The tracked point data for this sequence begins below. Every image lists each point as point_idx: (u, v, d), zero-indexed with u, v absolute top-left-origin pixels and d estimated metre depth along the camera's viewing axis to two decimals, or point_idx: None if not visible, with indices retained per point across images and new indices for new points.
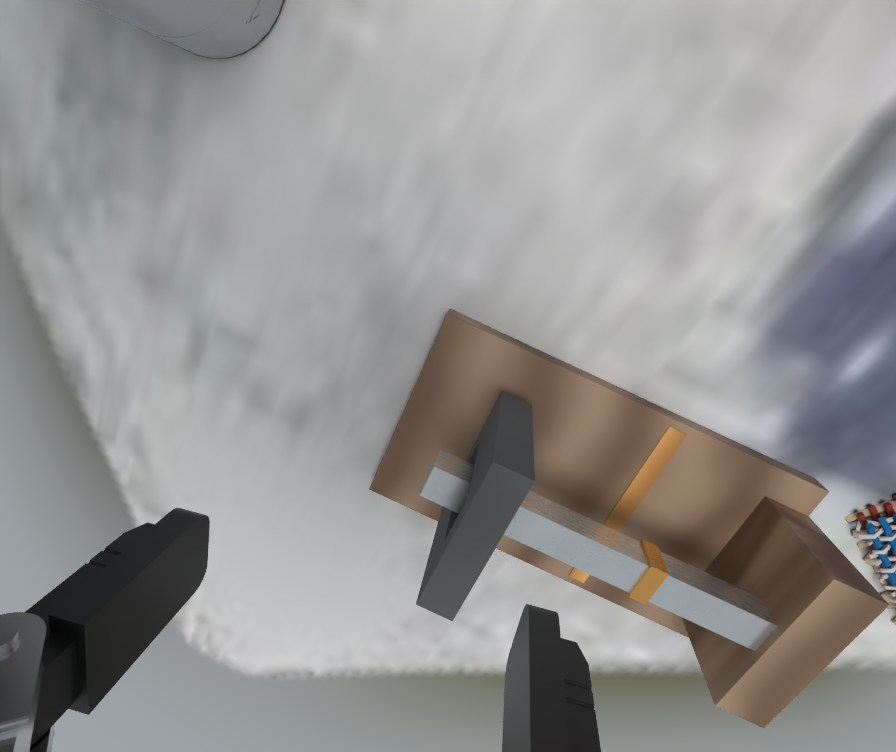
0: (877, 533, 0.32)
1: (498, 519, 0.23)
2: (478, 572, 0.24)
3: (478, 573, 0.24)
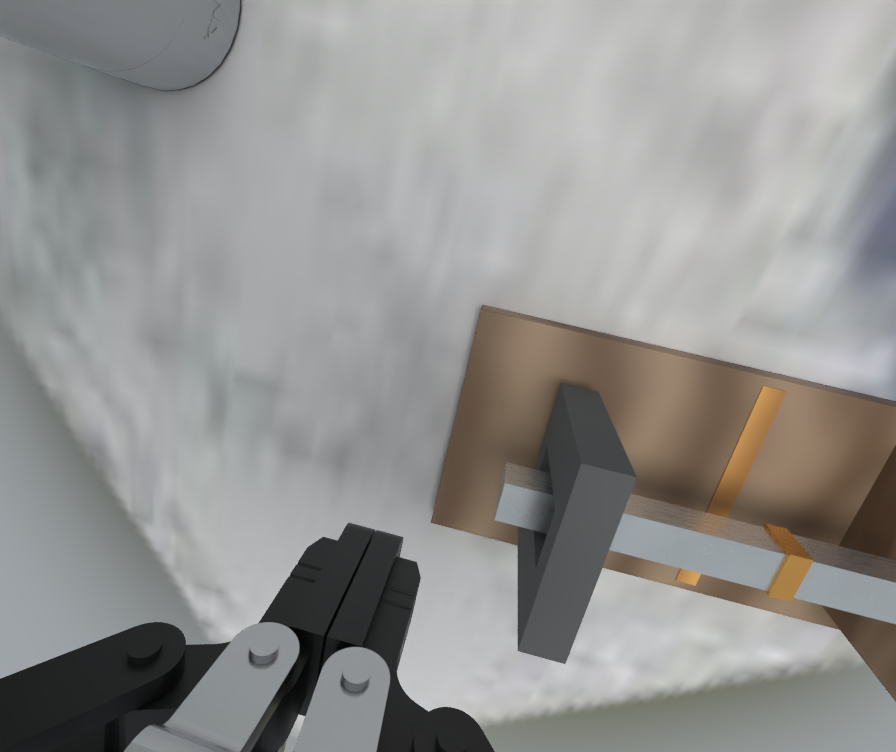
0: None
1: (600, 532, 0.19)
2: (586, 600, 0.20)
3: (586, 601, 0.20)
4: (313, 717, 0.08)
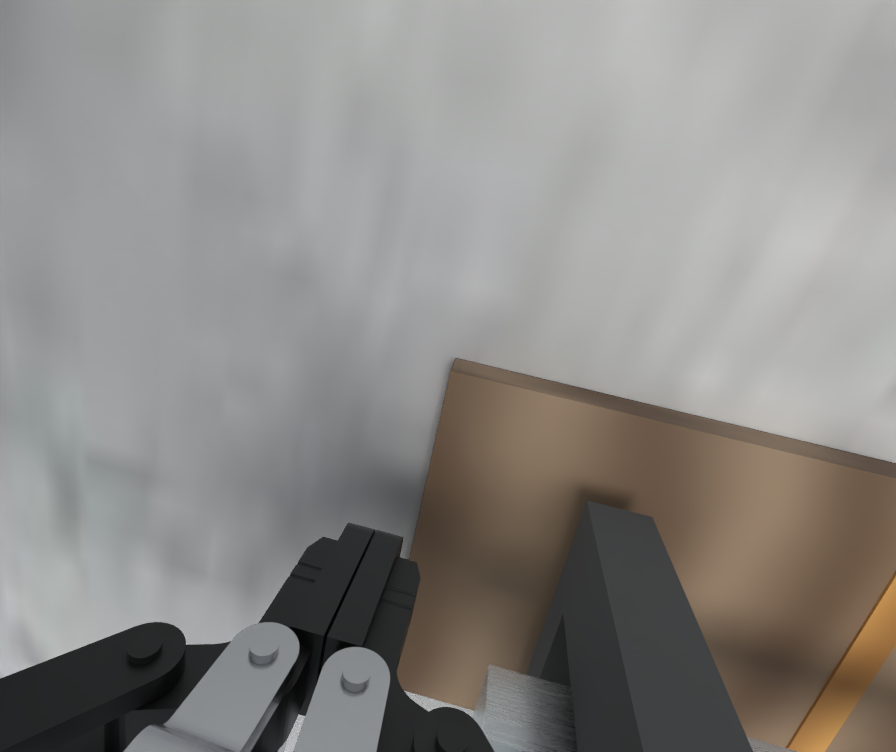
0: None
1: None
2: None
3: None
4: (313, 717, 0.08)
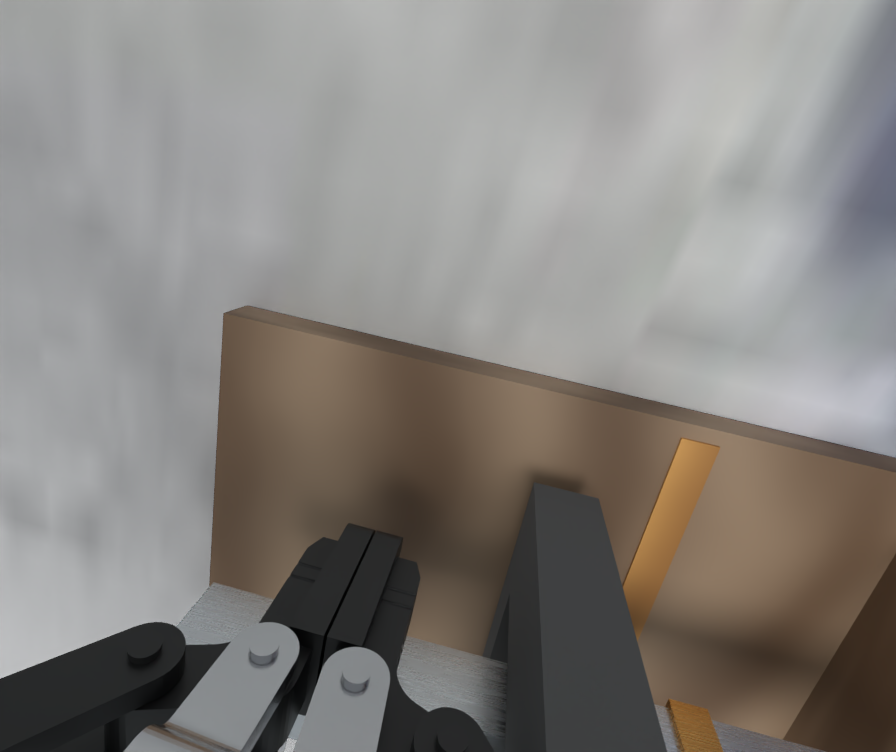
0: None
1: None
2: None
3: None
4: (313, 717, 0.08)
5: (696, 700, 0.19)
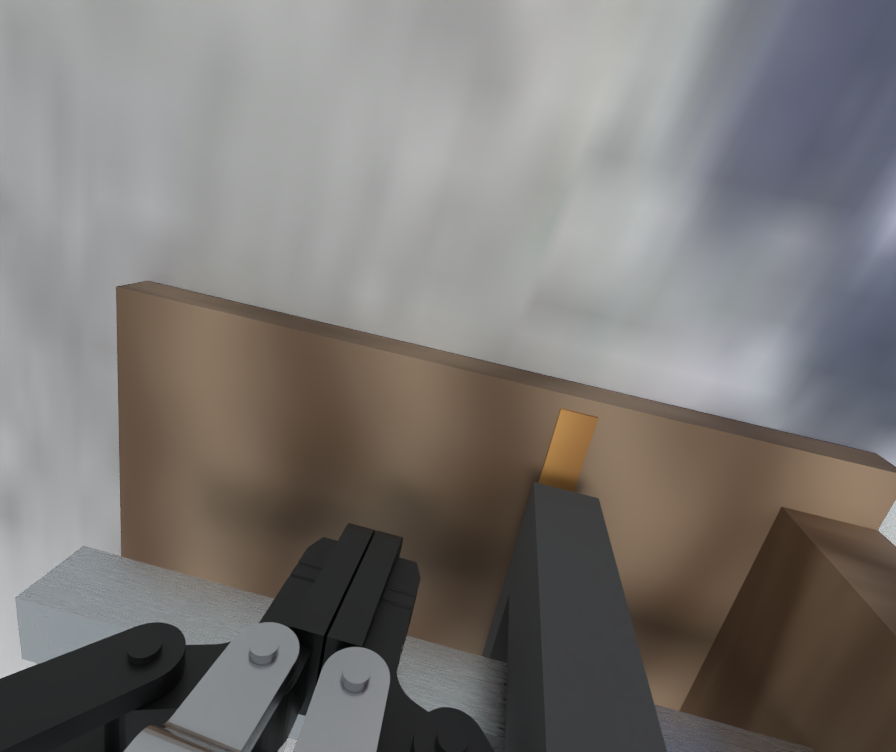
0: None
1: None
2: None
3: None
4: (313, 717, 0.08)
5: None
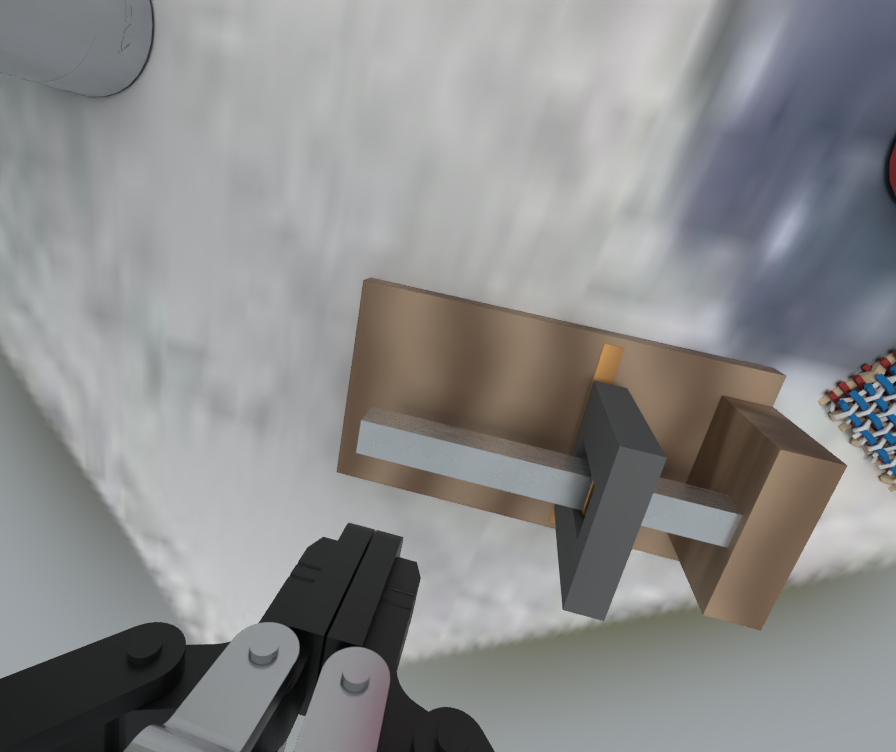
0: (852, 409, 0.30)
1: (635, 505, 0.22)
2: (623, 564, 0.23)
3: (623, 565, 0.23)
4: (313, 717, 0.08)
5: None
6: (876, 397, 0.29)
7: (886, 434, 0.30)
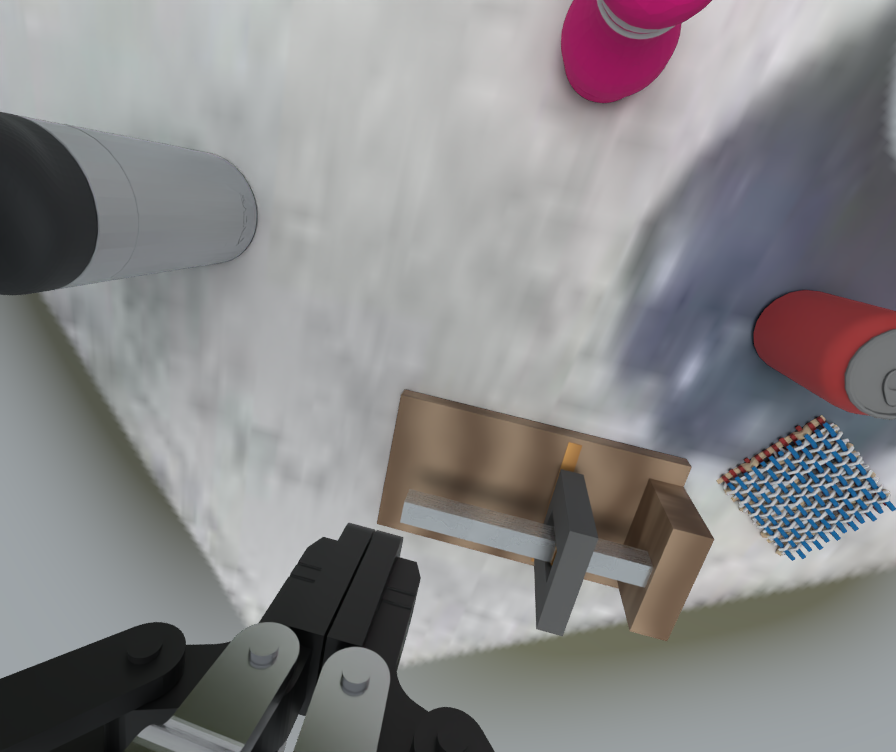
0: (737, 489, 0.43)
1: (580, 565, 0.36)
2: (573, 601, 0.37)
3: (573, 601, 0.37)
4: (313, 717, 0.08)
5: None
6: (752, 482, 0.43)
7: (760, 506, 0.44)
